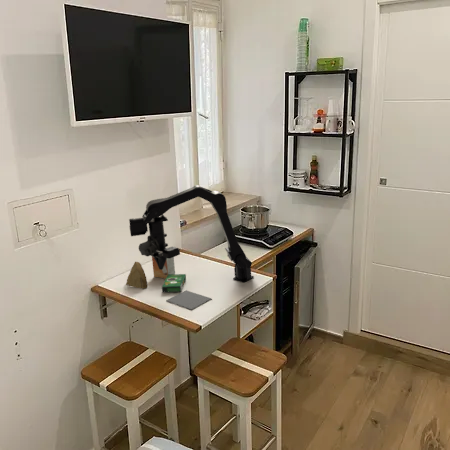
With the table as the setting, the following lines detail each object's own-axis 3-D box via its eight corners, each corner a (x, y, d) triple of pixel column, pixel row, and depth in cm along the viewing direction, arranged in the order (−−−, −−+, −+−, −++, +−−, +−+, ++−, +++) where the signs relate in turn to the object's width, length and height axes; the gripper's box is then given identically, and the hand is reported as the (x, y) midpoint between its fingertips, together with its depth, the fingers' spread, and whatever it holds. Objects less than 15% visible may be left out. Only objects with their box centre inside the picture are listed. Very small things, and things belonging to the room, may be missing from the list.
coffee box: (181, 292, 194) (186, 279, 207) (181, 286, 193) (185, 273, 206) (162, 293, 195) (168, 280, 207) (161, 286, 194) (167, 273, 207)
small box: (153, 277, 212) (151, 254, 209) (161, 272, 217) (158, 250, 214) (168, 279, 208) (166, 256, 205) (175, 274, 213) (173, 252, 210)
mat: (211, 299, 186) (211, 298, 186) (191, 310, 178) (191, 309, 178) (186, 291, 195) (186, 290, 195) (166, 301, 187) (166, 300, 187)
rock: (154, 282, 200) (150, 271, 209) (140, 270, 196) (136, 259, 205) (135, 299, 201) (131, 288, 209) (120, 288, 196) (118, 276, 205)
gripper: (125, 234, 189) (130, 271, 193) (157, 242, 177) (161, 281, 182) (147, 227, 197) (151, 262, 201) (178, 233, 185) (182, 271, 189)
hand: (161, 269), depth 193 cm, fingers closed
